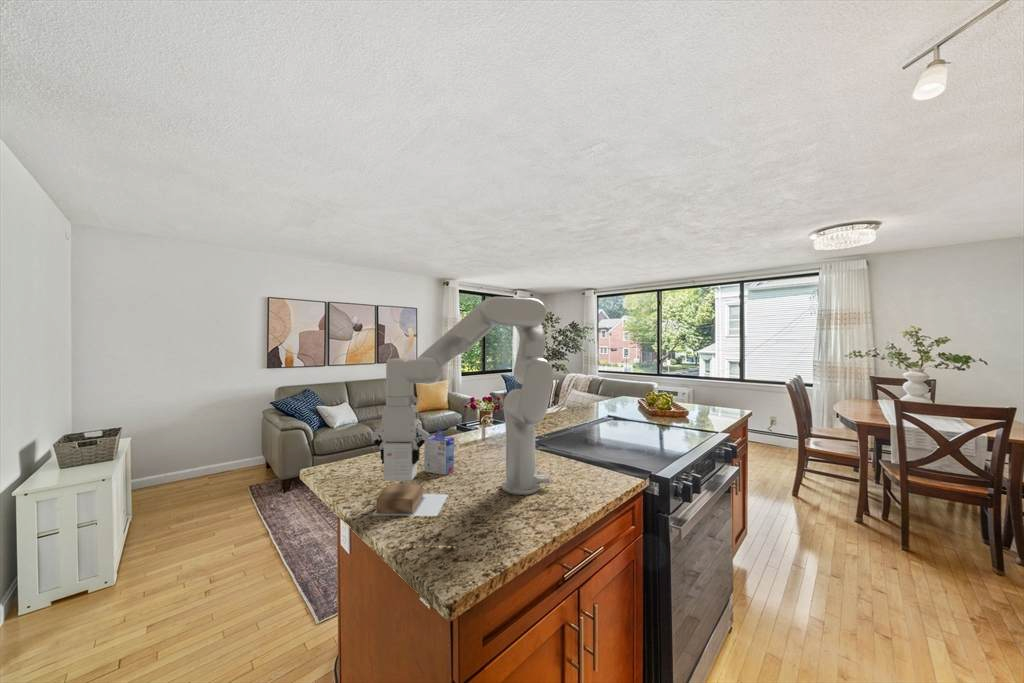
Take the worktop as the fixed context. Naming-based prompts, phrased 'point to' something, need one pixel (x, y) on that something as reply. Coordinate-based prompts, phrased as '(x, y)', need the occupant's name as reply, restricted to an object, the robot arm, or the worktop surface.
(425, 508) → the white rectangular board
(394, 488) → the base slab
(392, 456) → the small box
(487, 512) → the worktop surface
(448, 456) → the ink cartridge box
